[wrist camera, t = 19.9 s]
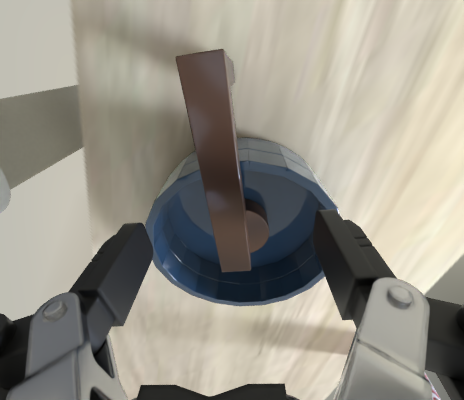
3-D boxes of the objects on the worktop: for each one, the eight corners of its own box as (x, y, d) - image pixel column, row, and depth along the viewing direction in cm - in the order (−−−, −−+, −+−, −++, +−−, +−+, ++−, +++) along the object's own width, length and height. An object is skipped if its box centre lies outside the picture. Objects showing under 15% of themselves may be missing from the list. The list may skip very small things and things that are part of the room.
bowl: (185, 270, 25) (175, 309, 21) (140, 149, 17) (111, 175, 13) (316, 262, 23) (331, 302, 19) (331, 125, 16) (360, 148, 12)
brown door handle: (268, 239, 20) (281, 317, 14) (219, 242, 21) (209, 320, 14) (257, 57, 13) (271, 40, 7) (184, 68, 14) (131, 63, 7)
